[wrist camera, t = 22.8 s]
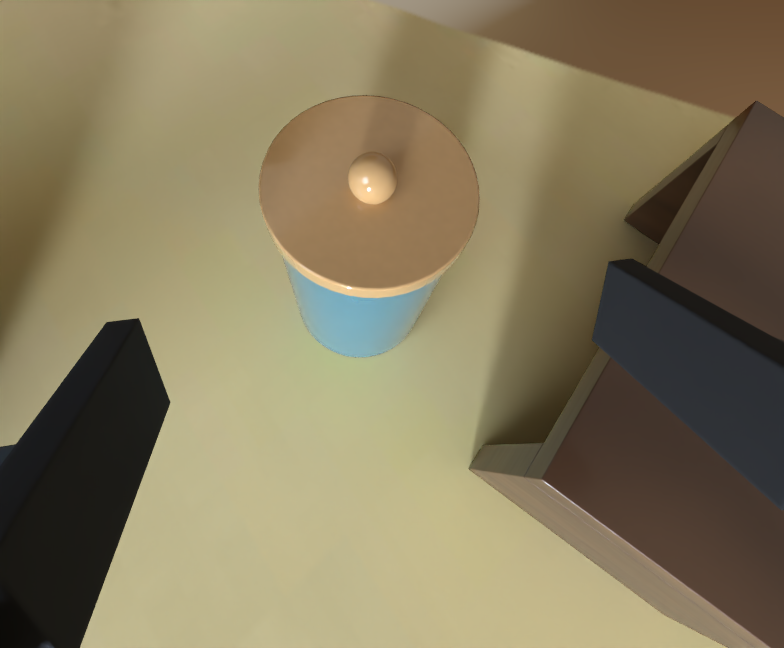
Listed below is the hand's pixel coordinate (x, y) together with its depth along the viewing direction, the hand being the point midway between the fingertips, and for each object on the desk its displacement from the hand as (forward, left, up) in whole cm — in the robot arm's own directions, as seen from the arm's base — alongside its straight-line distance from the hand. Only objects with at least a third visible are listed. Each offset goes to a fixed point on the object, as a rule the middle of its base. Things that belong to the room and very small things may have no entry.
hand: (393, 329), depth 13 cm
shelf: (+14, +7, -12) cm, 20 cm away
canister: (-3, +4, -12) cm, 13 cm away
